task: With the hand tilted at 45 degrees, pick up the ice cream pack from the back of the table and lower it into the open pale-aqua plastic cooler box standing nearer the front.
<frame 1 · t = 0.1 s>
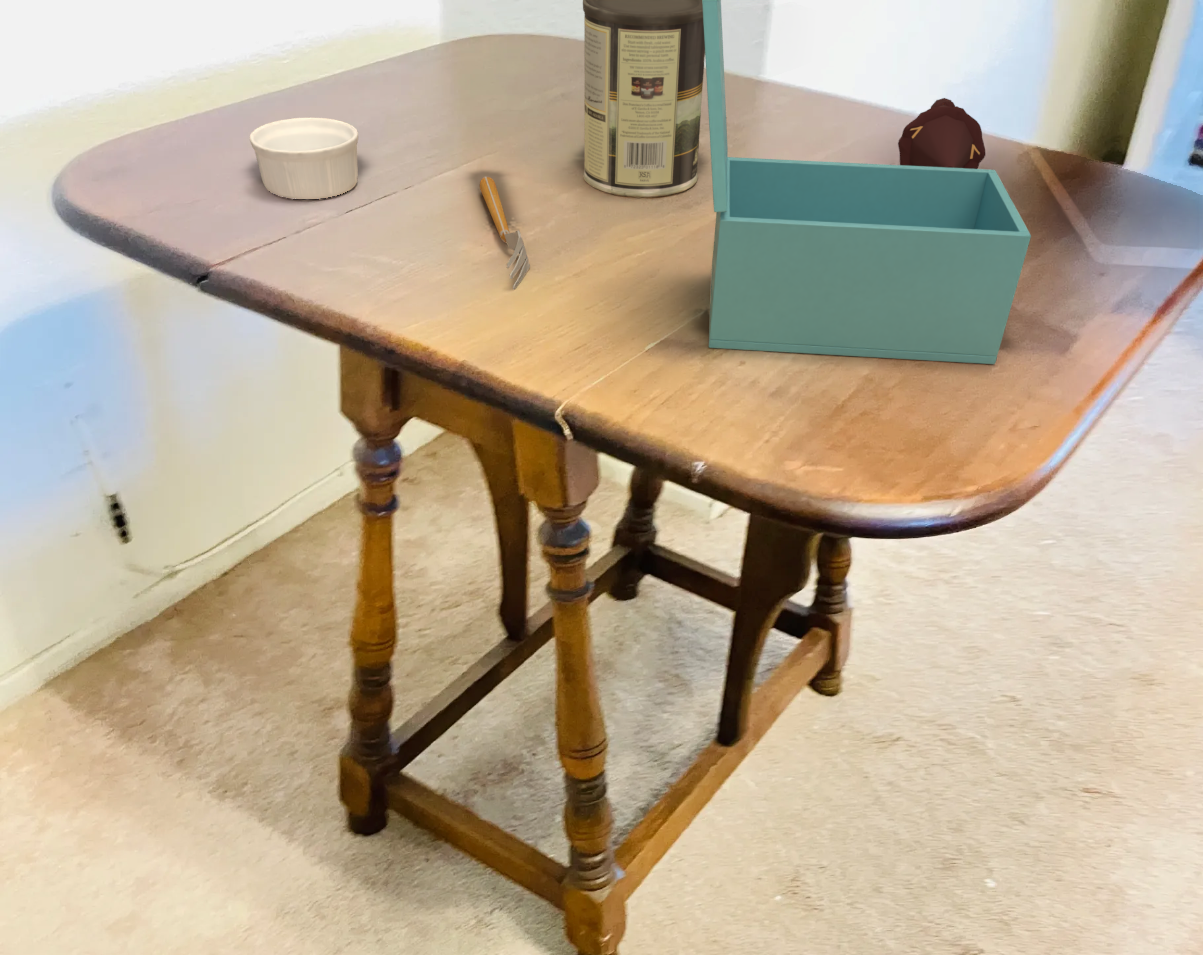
ramekin: (312, 187, 93), on the table
cooler: (843, 317, 75), on the table
fork: (502, 239, 85), on the table
coffee can: (639, 179, 96), on the table
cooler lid: (712, 14, 64), point 19 cm above the table, hinge at 98.0°
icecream: (932, 188, 96), on the table
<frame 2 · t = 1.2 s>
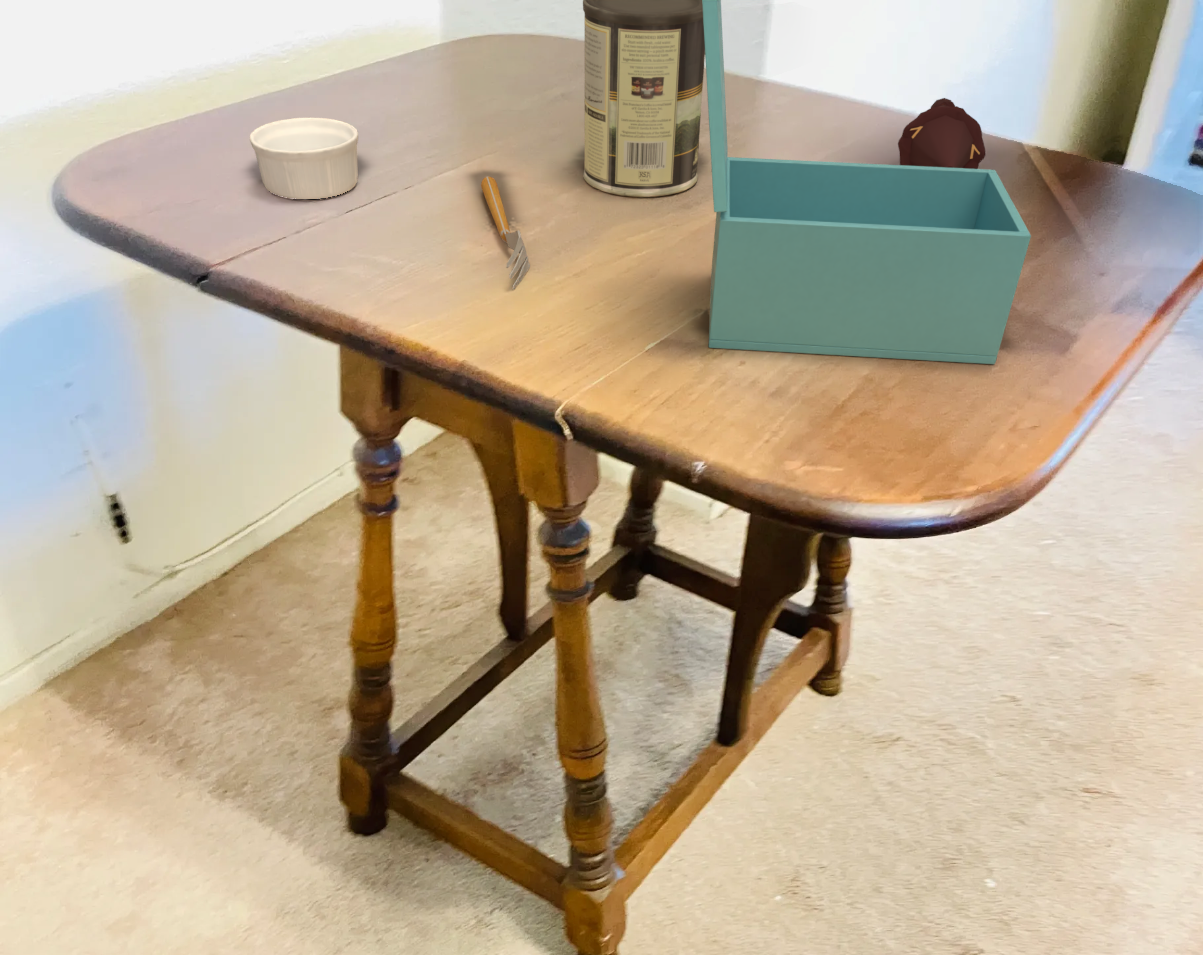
nothing on the table moved.
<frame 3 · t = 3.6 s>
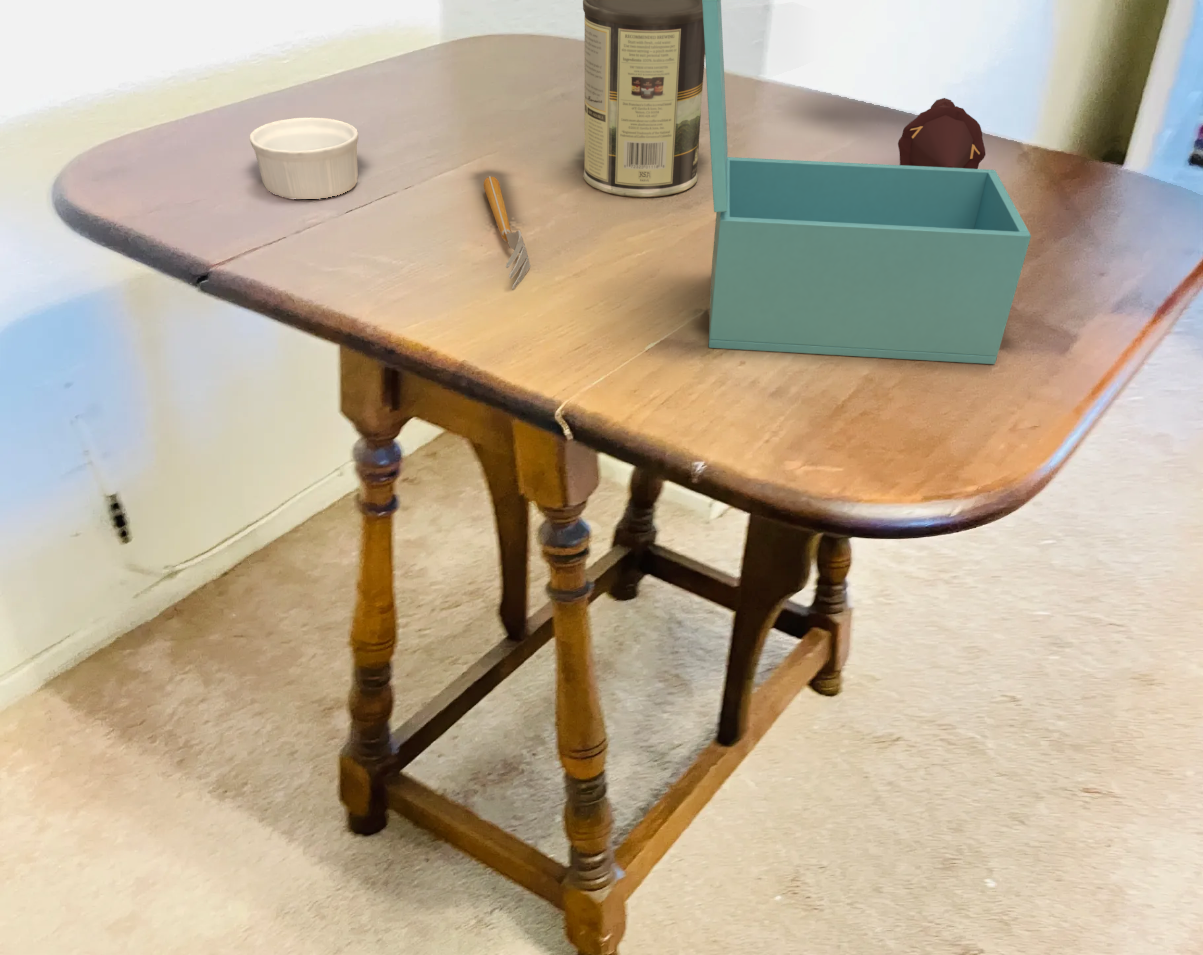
nothing on the table moved.
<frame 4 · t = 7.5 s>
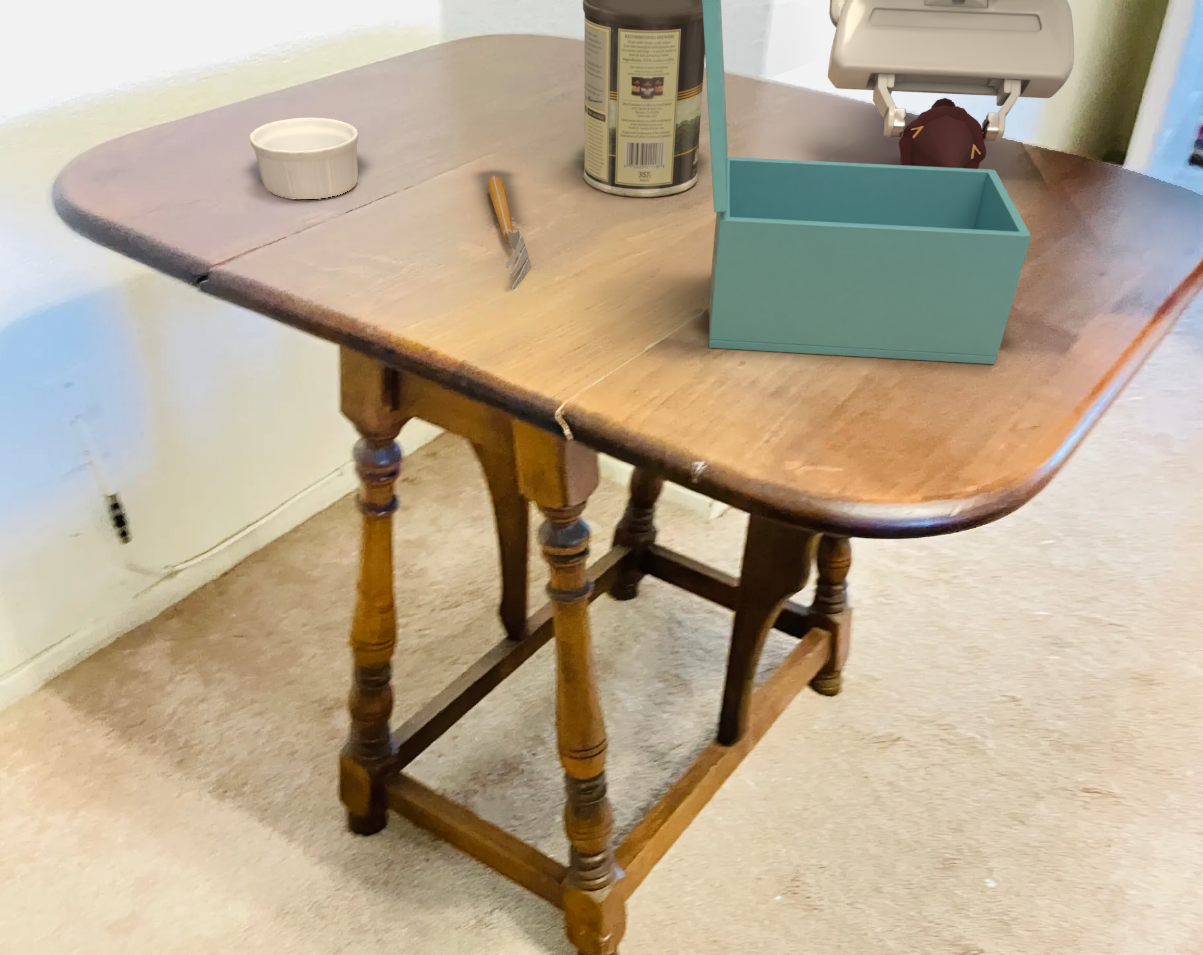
hand: (943, 136, 92), 4 cm above the table, tool tilted 45°, fingers closed on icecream, 7 cm apart
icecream: (932, 188, 96), on the table, touching gripper
everything else where it was.
when the fingers open (9 cm above the table, at t = 19.3 s): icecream drops 4 cm, resting on cooler.
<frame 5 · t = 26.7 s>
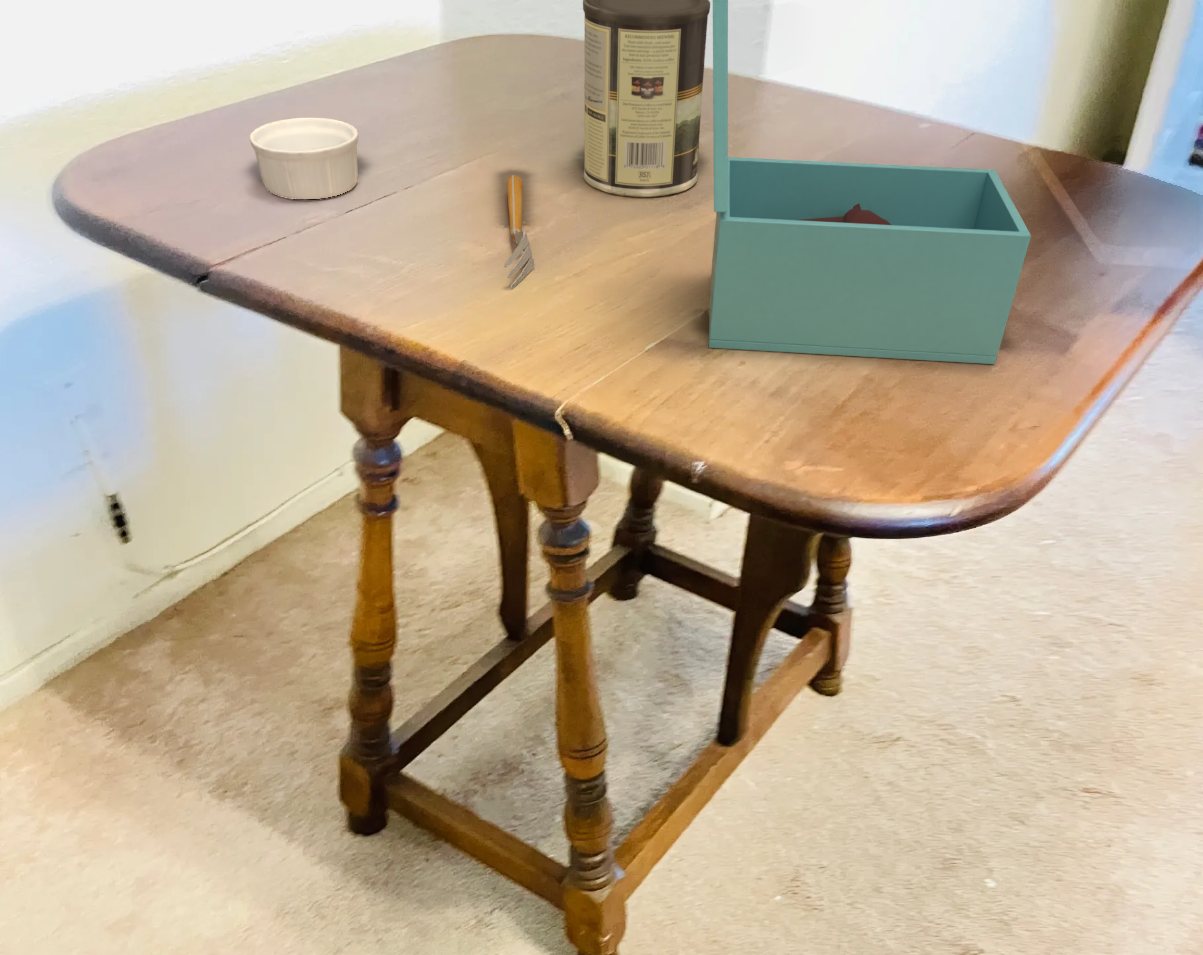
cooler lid: (720, 13, 64), point 19 cm above the table, hinge at 95.2°
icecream: (838, 305, 76), resting on cooler
at the end: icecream inside the target area in the cooler (0.9 cm from its centre), point 0.4 cm above the cooler's base; the gripper is holding nothing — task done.
